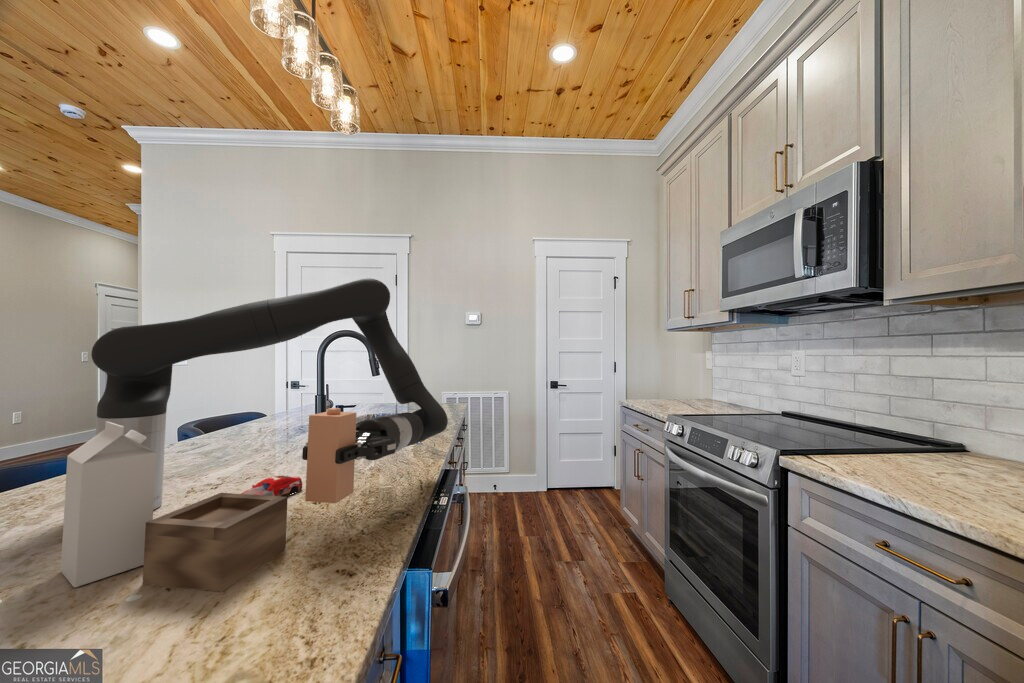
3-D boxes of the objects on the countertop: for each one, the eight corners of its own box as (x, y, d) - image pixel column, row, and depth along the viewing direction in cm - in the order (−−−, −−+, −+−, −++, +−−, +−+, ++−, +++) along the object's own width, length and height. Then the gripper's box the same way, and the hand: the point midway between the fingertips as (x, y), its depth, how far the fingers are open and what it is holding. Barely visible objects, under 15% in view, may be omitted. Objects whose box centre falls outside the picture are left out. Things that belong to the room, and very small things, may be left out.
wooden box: (142, 583, 49) (145, 522, 49) (218, 542, 60) (221, 492, 60) (222, 591, 48) (225, 528, 48) (285, 548, 59) (287, 496, 59)
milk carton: (74, 589, 48) (83, 430, 48) (59, 572, 51) (68, 424, 52) (151, 564, 54) (158, 423, 55) (133, 550, 57) (140, 418, 58)
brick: (305, 501, 60) (309, 410, 61) (324, 490, 65) (328, 406, 66) (335, 503, 60) (339, 411, 60) (353, 492, 65) (356, 407, 65)
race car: (247, 514, 72) (248, 492, 72) (226, 510, 74) (227, 488, 74) (307, 491, 84) (307, 472, 84) (288, 488, 86) (288, 469, 86)
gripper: (353, 413, 79) (283, 427, 62) (418, 418, 75) (362, 434, 59) (351, 451, 78) (281, 475, 62) (417, 458, 75) (360, 485, 58)
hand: (321, 455), depth 60 cm, fingers closed on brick, 5 cm apart
